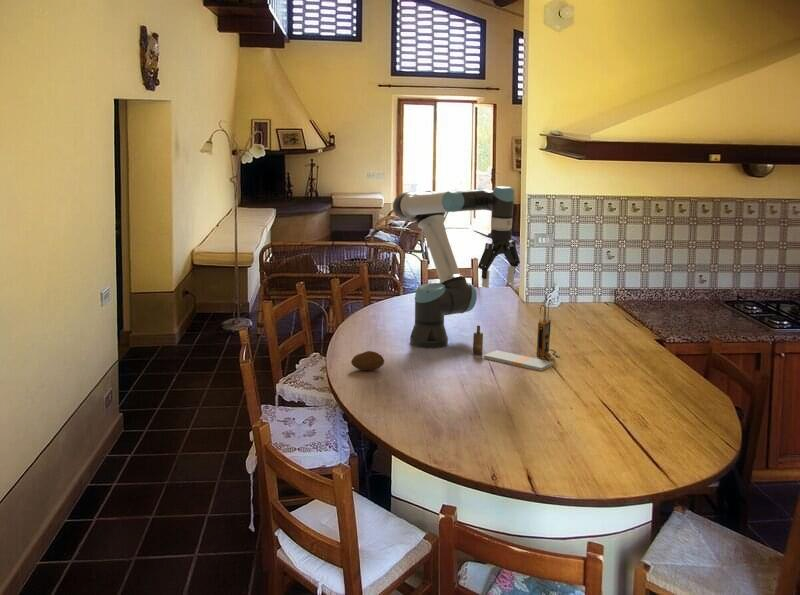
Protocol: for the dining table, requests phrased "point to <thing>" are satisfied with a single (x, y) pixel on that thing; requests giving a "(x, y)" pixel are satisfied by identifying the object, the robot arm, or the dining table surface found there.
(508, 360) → the panel
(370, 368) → the potato
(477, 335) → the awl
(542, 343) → the multimeter
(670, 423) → the dining table surface
